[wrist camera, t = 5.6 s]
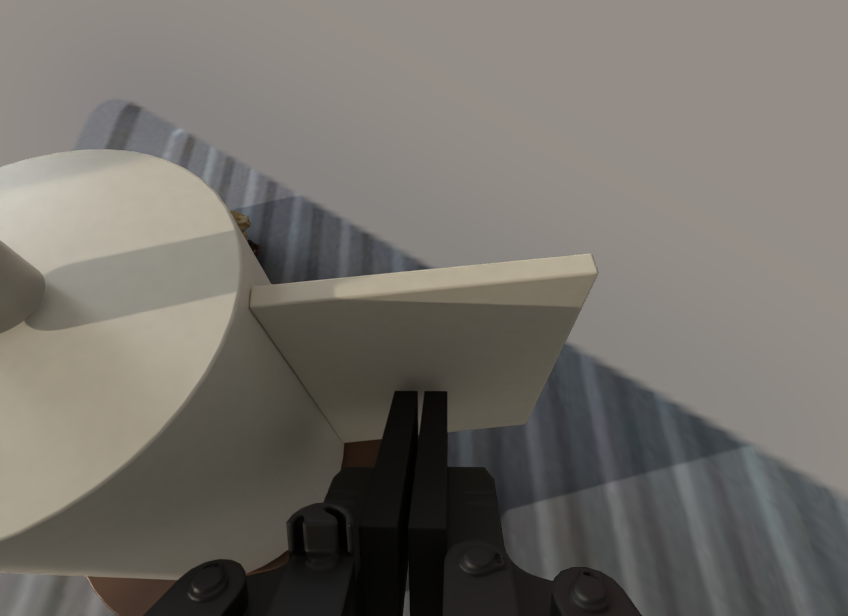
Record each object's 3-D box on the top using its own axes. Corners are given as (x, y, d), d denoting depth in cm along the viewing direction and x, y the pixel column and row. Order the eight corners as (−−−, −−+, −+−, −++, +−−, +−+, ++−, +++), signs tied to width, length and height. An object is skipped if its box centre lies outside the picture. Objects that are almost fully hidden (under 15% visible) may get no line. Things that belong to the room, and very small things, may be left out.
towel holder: (25, 567, 21) (-1099, 504, 6) (198, 303, 27) (-105, -51, 12) (318, 699, 18) (-331, 1250, 3) (431, 370, 25) (409, 24, 10)
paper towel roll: (68, 549, 19) (-401, 496, 9) (181, 333, 24) (-29, 130, 14) (500, 660, 17) (595, 780, 6) (527, 396, 22) (606, 209, 11)
